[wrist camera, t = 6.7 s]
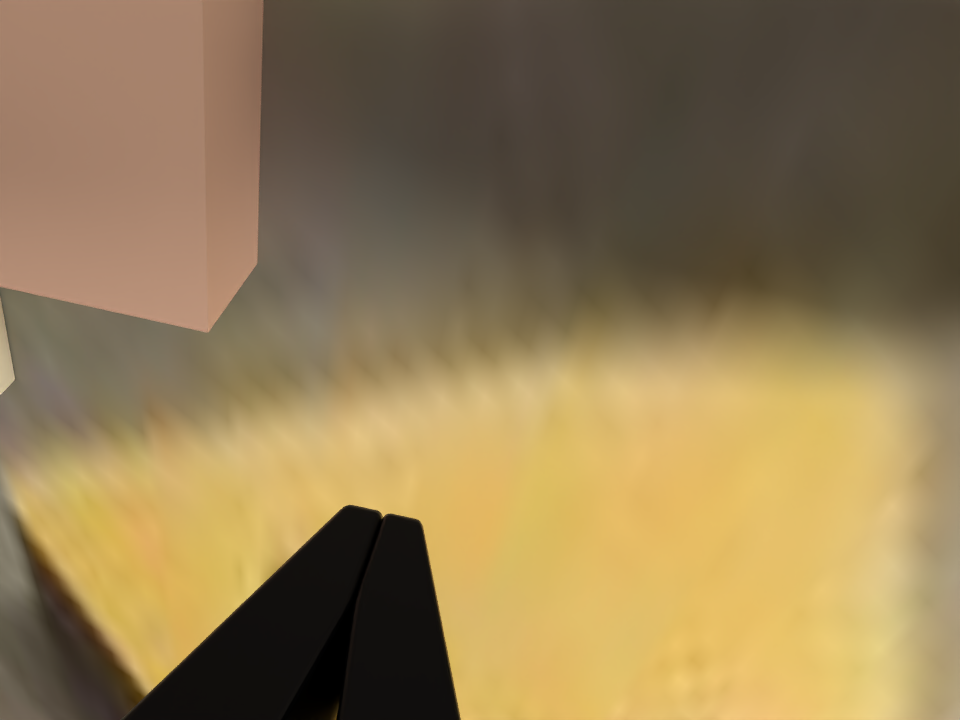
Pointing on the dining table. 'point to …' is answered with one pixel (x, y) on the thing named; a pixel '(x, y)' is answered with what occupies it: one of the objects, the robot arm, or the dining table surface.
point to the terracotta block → (131, 153)
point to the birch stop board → (5, 356)
